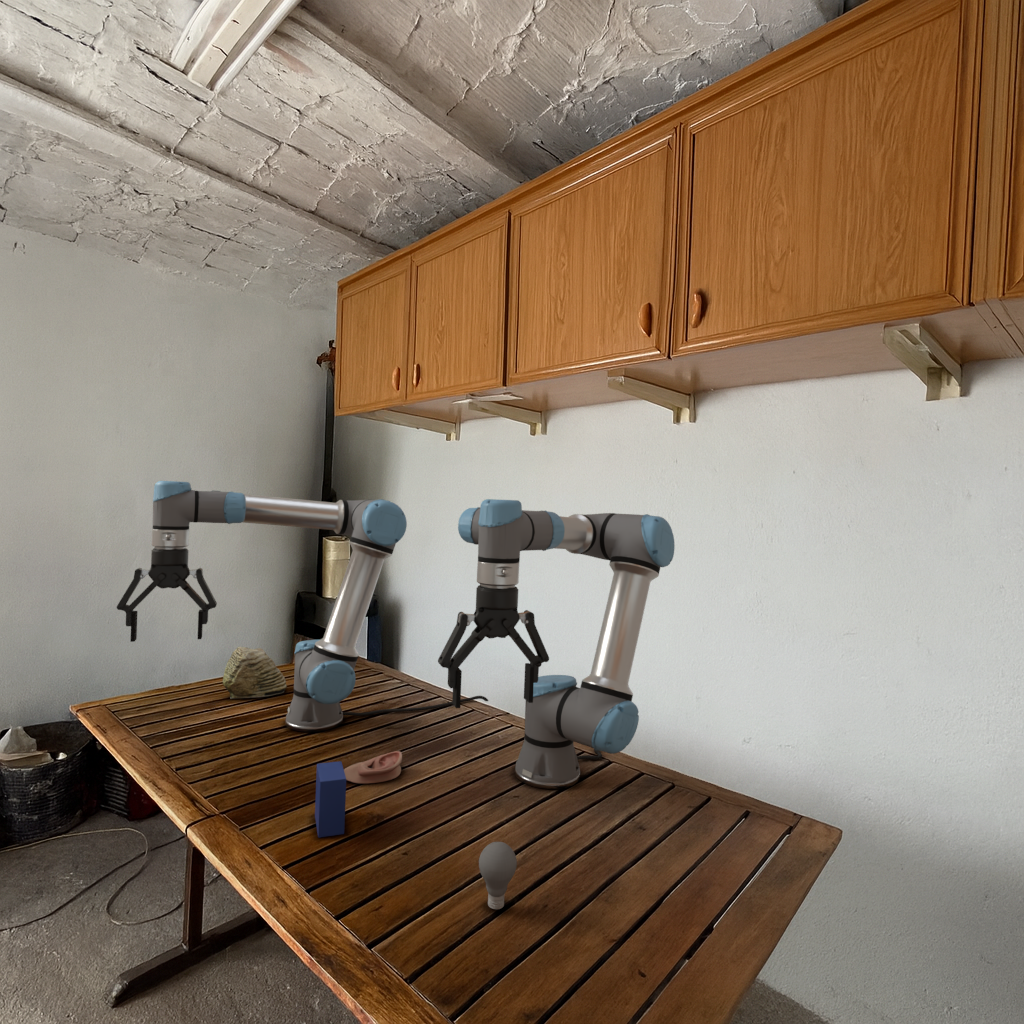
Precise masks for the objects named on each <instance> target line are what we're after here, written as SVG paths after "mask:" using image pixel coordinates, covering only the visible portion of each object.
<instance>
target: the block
mask: <svg viewBox="0 0 1024 1024" xmlns="http://www.w3.org/2000/svg"><path fill="white" fill-rule="evenodd" d="M344 769H345V768H344V766H343V763H342V761H341V760H340V761H330V762H329V761H328V762H319V763H316V776H315V801H314V802H315V803H314V821H315V826H316V832H317V838H319V839H320V838H326V837H334V836H340V835H345V826H346V822H345V821H346V799H347V797H346V796H347V780H346V776H345V772H344Z"/></svg>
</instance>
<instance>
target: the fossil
mask: <svg viewBox="0 0 1024 1024" xmlns="http://www.w3.org/2000/svg"><path fill="white" fill-rule="evenodd" d="M222 676H223V677H222V685H223V687H224V688H225V690H226V691H228V693H229V698H230V699H250V698H264V697H271V696H275V695H281V694H284V693H285V691H286V689H287V687H288V686H287V680H286V678H285V676H284V674H283V673H282V672H281V669H279V668H278V667H277V665H276V663H275V662H274V660H273V659H272V658H271V657H270V656H269V655H268V654H267V653H266V652H265V650H264V649H263V648H260V647H258V648H251V647H247V646H246V647H245V646H238V647H237V648H236V649H235V650H233V651H232V653H231V656H230V657H229V659H228V660H227V663H226V666H225V668H224V671H223V675H222Z"/></svg>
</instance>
